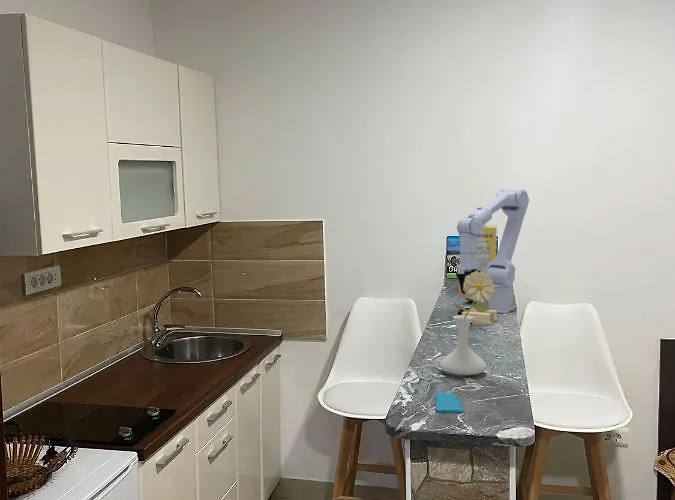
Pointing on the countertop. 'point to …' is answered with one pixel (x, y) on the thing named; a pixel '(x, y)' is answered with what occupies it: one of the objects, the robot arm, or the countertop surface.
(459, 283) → the terracotta cube
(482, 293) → the flower in vase
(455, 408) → the sponge
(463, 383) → the countertop surface
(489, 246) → the pasta box
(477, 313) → the birch base
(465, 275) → the robot arm
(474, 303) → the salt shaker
